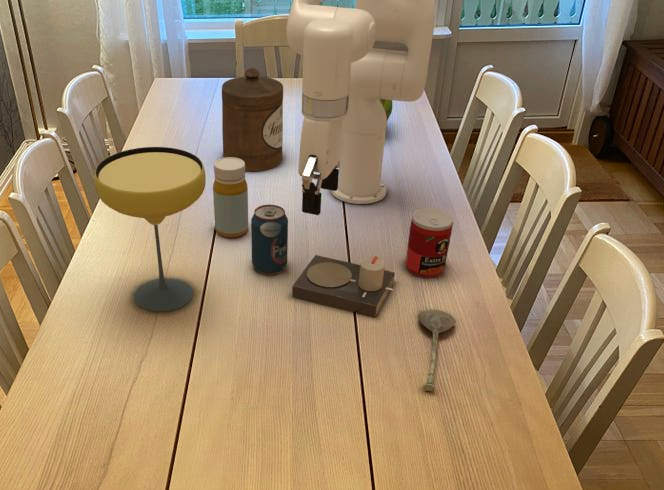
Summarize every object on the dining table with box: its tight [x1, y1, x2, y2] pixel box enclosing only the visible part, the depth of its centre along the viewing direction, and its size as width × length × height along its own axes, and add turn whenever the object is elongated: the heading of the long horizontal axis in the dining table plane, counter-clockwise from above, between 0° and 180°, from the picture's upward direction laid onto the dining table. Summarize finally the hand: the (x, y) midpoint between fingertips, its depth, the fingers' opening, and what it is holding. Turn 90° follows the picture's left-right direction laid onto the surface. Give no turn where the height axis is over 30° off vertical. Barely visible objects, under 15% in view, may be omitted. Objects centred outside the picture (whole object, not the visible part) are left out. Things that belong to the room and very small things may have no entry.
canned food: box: [405, 207, 454, 278], centre depth 137 cm, size 8×8×11 cm
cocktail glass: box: [93, 146, 207, 313], centre depth 125 cm, size 18×18×25 cm
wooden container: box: [221, 67, 284, 172], centre depth 173 cm, size 15×15×22 cm
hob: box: [291, 254, 396, 318], centre depth 133 cm, size 17×12×3 cm
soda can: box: [250, 204, 289, 275], centre depth 137 cm, size 7×7×12 cm
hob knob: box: [358, 255, 386, 291], centre depth 130 cm, size 4×4×5 cm
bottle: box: [212, 157, 249, 239], centre depth 147 cm, size 7×7×15 cm
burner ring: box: [307, 262, 352, 288], centre depth 134 cm, size 8×8×1 cm
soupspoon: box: [417, 309, 457, 392], centre depth 120 cm, size 22×3×7 cm
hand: (320, 200), depth 127 cm, fingers open, 9 cm apart
